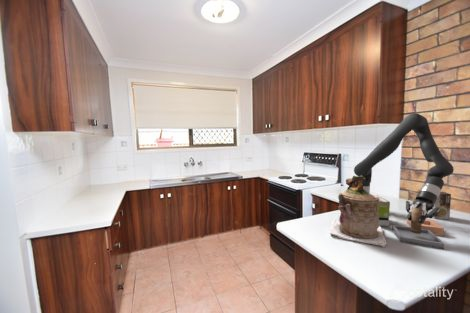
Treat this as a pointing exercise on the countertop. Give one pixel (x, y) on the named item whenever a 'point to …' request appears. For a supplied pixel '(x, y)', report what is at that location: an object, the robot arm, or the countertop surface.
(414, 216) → the walnut dowel
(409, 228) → the gray tray
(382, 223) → the tea box
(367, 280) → the countertop surface
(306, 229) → the countertop surface
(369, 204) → the cookie jar
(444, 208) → the coffee box
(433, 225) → the salmon square ring
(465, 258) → the countertop surface
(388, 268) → the countertop surface
